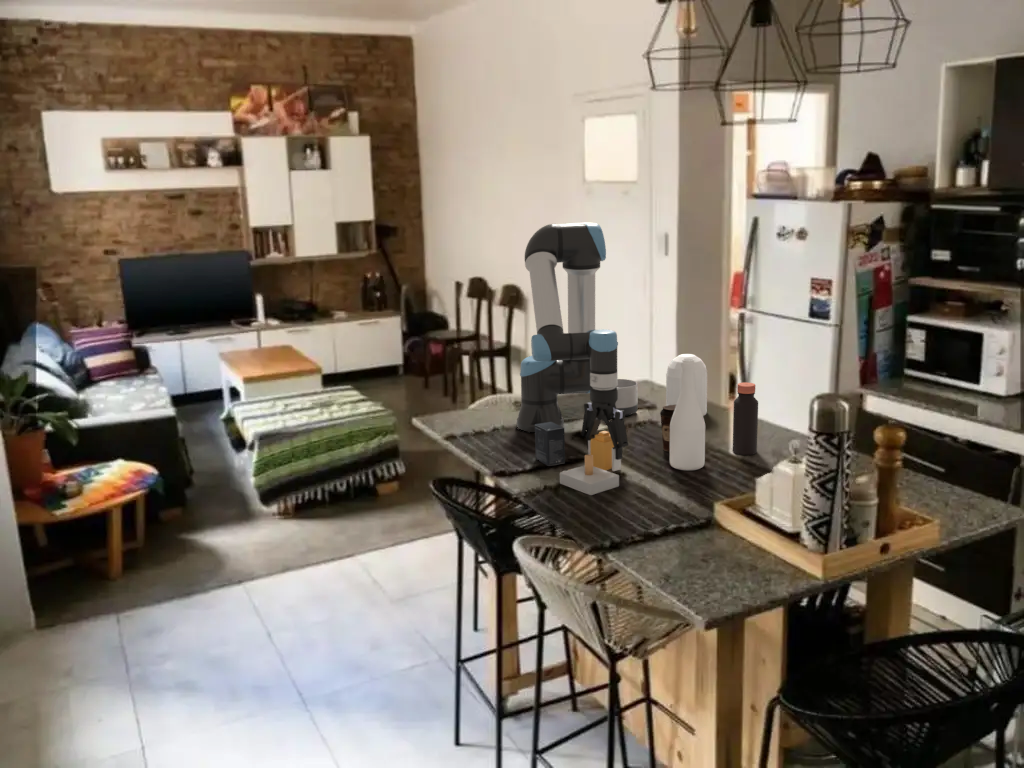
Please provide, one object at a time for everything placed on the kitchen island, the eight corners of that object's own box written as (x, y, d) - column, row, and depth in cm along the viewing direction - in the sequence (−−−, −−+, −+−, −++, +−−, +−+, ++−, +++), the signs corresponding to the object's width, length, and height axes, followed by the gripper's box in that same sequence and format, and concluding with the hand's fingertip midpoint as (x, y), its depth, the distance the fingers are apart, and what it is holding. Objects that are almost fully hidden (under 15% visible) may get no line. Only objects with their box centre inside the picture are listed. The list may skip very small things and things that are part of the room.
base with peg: (552, 480, 241) (551, 452, 240) (580, 472, 247) (580, 444, 245) (590, 495, 230) (590, 465, 228) (619, 486, 236) (618, 456, 234)
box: (565, 463, 255) (564, 427, 253) (547, 466, 253) (547, 430, 250) (552, 456, 262) (551, 420, 260) (535, 459, 260) (534, 423, 257)
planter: (639, 418, 298) (639, 387, 295) (600, 419, 298) (600, 388, 295) (635, 408, 310) (635, 378, 308) (597, 409, 310) (597, 379, 308)
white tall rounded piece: (684, 473, 243) (685, 365, 236) (662, 464, 252) (663, 358, 244) (711, 467, 248) (713, 360, 240) (689, 458, 256) (691, 354, 249)
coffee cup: (688, 455, 259) (689, 411, 255) (659, 454, 260) (659, 410, 257) (689, 445, 267) (689, 403, 264) (660, 445, 268) (660, 402, 265)
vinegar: (758, 449, 261) (760, 382, 256) (754, 456, 255) (756, 388, 250) (735, 447, 264) (736, 380, 259) (730, 454, 258) (731, 386, 253)
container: (665, 407, 310) (665, 350, 305) (705, 407, 308) (706, 349, 303) (666, 417, 297) (667, 358, 292) (708, 418, 295) (709, 358, 290)
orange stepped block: (591, 466, 252) (590, 432, 249) (605, 462, 255) (604, 428, 252) (604, 470, 248) (603, 436, 245) (617, 466, 251) (617, 432, 248)
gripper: (567, 382, 252) (568, 459, 257) (621, 396, 235) (622, 478, 240) (587, 378, 256) (588, 454, 262) (642, 391, 240) (642, 472, 245)
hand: (604, 465), depth 251 cm, fingers open, 9 cm apart
